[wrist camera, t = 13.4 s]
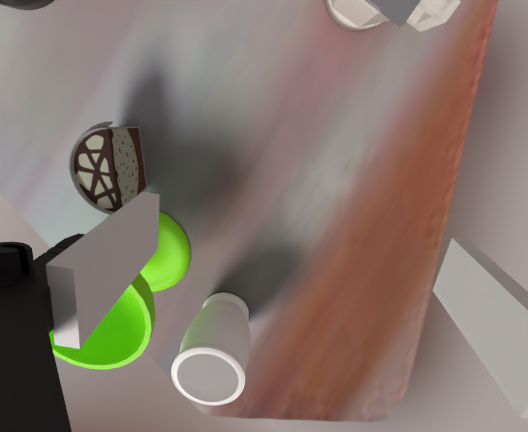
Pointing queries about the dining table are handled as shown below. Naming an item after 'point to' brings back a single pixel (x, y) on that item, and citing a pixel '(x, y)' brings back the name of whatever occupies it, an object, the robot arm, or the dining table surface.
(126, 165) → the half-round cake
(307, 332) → the dining table surface
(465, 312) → the robot arm
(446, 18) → the press pot
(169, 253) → the wineglass
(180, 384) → the jar
